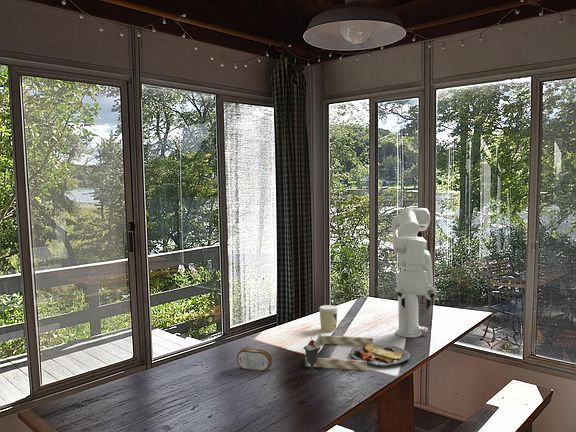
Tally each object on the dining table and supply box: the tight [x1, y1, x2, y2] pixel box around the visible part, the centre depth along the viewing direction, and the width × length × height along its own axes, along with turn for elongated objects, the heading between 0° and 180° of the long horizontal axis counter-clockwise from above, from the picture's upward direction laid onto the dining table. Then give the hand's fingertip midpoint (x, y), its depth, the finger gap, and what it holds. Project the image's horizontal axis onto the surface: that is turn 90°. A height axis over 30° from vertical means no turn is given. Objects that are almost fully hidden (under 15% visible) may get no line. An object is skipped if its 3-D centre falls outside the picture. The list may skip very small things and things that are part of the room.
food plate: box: [349, 343, 411, 367], centre depth 209 cm, size 25×23×4 cm
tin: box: [236, 347, 273, 372], centre depth 199 cm, size 15×3×8 cm, turn 71°
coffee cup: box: [318, 304, 338, 333], centre depth 250 cm, size 9×9×12 cm
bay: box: [304, 334, 374, 371], centre depth 213 cm, size 25×31×4 cm
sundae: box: [303, 337, 321, 376], centre depth 193 cm, size 7×7×15 cm
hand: (415, 308), depth 205 cm, fingers open, 9 cm apart
